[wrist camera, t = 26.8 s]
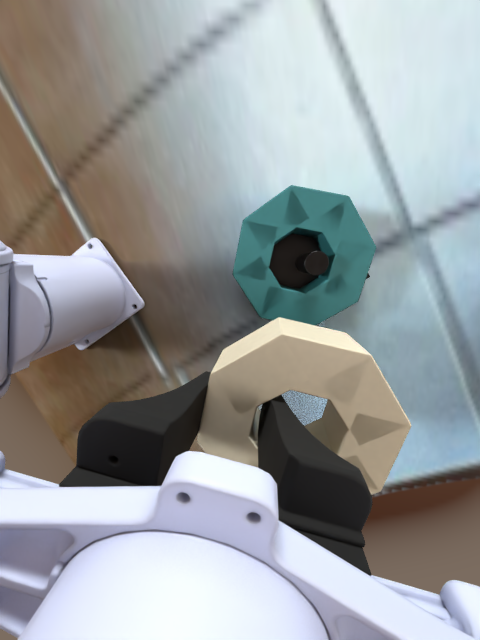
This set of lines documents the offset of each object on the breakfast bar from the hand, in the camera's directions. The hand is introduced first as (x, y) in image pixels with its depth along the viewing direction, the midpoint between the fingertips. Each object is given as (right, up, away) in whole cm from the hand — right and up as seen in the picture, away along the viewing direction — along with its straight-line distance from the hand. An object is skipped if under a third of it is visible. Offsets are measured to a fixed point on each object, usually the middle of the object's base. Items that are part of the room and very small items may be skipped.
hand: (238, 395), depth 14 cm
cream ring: (+3, 0, +1) cm, 3 cm away
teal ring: (+5, +9, +7) cm, 13 cm away
